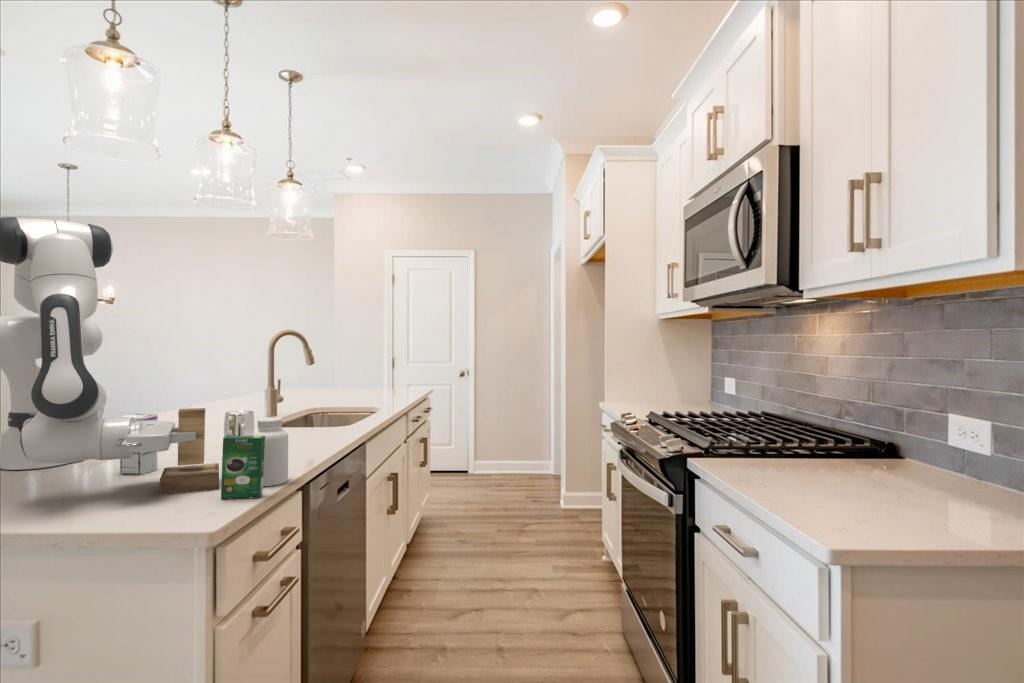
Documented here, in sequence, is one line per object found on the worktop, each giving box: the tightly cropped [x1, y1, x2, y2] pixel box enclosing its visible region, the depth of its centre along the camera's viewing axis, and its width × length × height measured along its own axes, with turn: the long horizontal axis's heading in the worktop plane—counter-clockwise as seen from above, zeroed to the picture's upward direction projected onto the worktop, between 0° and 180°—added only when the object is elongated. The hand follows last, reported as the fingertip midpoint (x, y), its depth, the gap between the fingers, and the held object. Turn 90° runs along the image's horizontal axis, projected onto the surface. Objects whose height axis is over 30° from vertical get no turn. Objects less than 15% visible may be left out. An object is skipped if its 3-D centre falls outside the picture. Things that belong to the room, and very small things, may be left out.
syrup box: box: [119, 413, 159, 476], centre depth 132 cm, size 6×6×14 cm
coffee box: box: [220, 436, 265, 500], centre depth 113 cm, size 8×3×13 cm, turn 102°
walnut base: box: [159, 462, 220, 496], centre depth 120 cm, size 10×11×4 cm
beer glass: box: [223, 410, 255, 438], centre depth 135 cm, size 7×7×15 cm
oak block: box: [177, 407, 206, 467], centre depth 120 cm, size 5×5×12 cm
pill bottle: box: [252, 417, 289, 487], centre depth 124 cm, size 8×8×15 cm
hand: (196, 433), depth 120 cm, fingers closed on oak block, 4 cm apart
